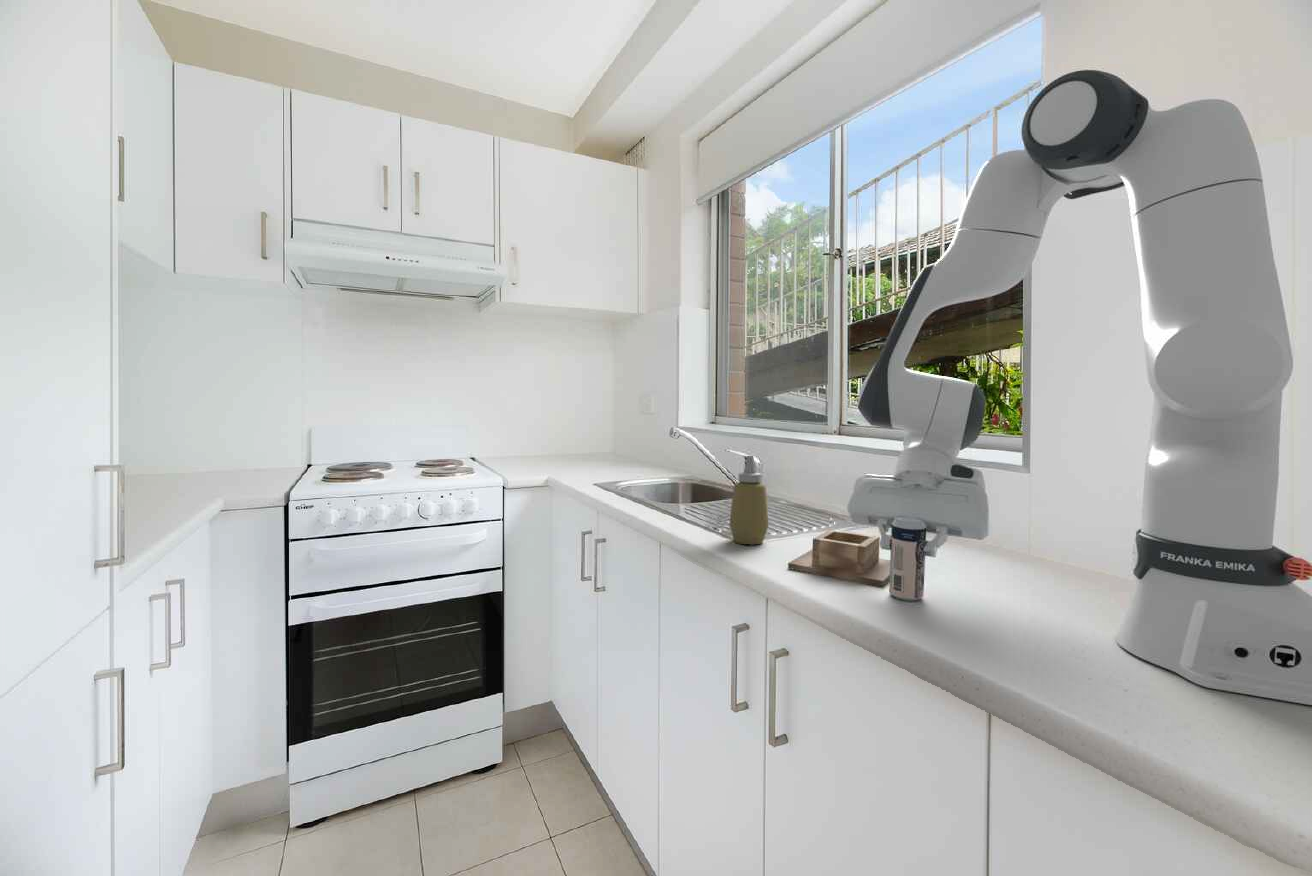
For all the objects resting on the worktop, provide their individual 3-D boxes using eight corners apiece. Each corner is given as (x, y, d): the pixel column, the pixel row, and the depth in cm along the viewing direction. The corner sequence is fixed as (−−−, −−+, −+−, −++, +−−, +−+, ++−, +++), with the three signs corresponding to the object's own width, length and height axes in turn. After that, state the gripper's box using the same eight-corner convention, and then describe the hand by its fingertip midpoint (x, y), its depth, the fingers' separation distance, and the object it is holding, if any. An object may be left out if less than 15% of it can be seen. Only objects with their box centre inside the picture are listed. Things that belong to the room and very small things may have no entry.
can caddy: (902, 567, 102) (903, 537, 101) (882, 587, 91) (884, 553, 91) (814, 552, 111) (815, 524, 111) (788, 568, 101) (788, 537, 100)
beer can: (926, 603, 84) (930, 523, 83) (892, 601, 85) (895, 521, 84) (918, 592, 89) (922, 516, 88) (886, 590, 90) (889, 514, 89)
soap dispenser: (727, 536, 123) (728, 453, 122) (765, 537, 123) (767, 454, 122) (730, 546, 115) (732, 457, 114) (771, 547, 115) (773, 458, 114)
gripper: (854, 462, 97) (833, 529, 90) (994, 472, 85) (982, 550, 78) (861, 484, 101) (841, 551, 94) (995, 497, 89) (984, 574, 82)
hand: (906, 551), depth 86 cm, fingers closed on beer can, 5 cm apart
